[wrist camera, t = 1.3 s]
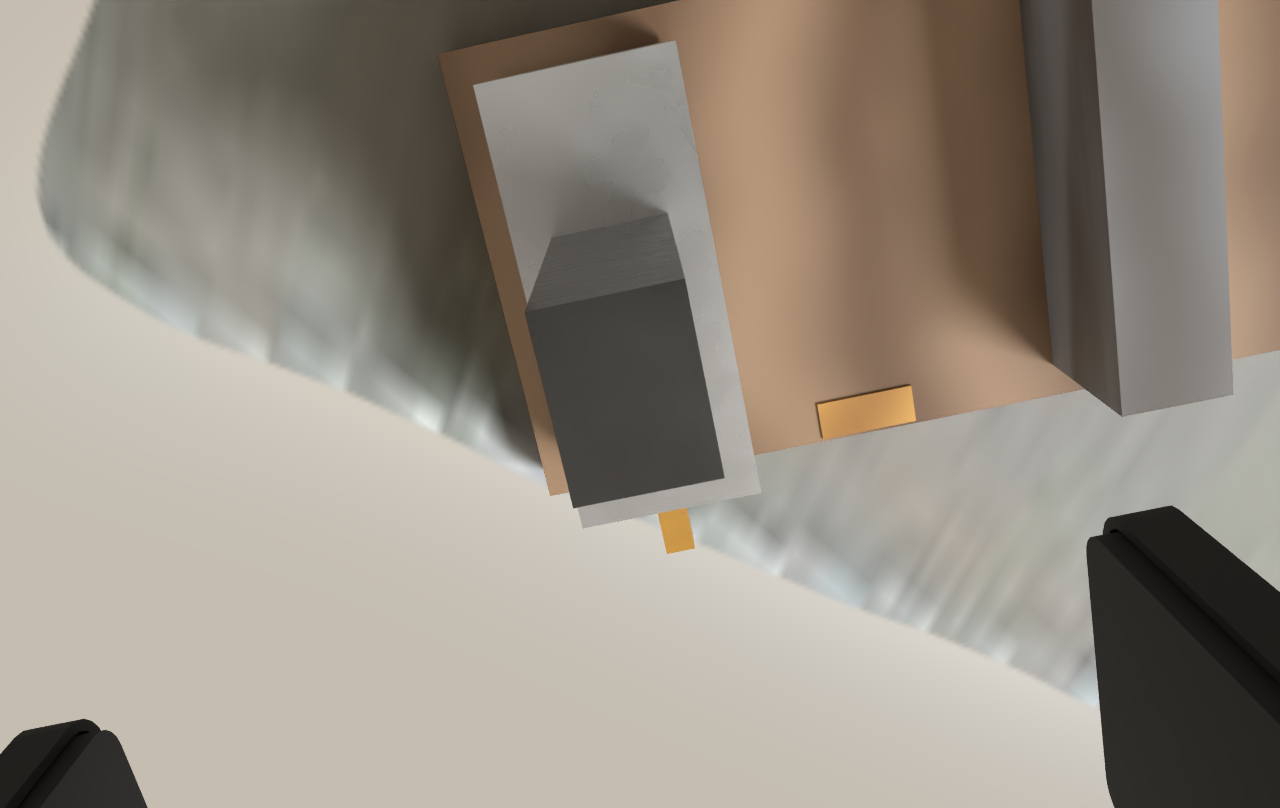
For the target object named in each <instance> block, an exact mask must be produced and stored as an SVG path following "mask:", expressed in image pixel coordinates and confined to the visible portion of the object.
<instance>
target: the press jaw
mask: <svg viewBox="0 0 1280 808" xmlns="http://www.w3.org/2000/svg"><path fill="white" fill-rule="evenodd" d="M473 87H474V91H475V95H476V99H477V103H478V107H479V111H480V115H481V120H482V124H483V128H484V132H485V136H486V140H487V144H488V148H489V152H490V156H491V160H492V164H493V168H494V172H495V176H496V180H497V184H498V188H499V192H500V196H501V200H502V204H503V208H504V212H505V216H506V220H507V224H508V228H509V232H510V236H511V241H512V245H513V249H514V253H515V257H516V261H517V265H518V269H519V273H520V277H521V281H522V285H523V289H524V293H525V297H526V301H527V306H526V309H525V312H524V313H525V317H526V321H527V325H528V329H529V333H530V337H531V341H532V345H533V349H534V353H535V357H536V361H537V365H538V369H539V373H540V377H541V381H542V385H543V389H544V393H545V397H546V401H547V405H548V409H549V413H550V417H551V421H552V425H553V429H554V433H555V437H556V441H557V445H558V449H559V453H560V457H561V461H562V465H563V469H564V473H565V477H566V481H567V485H568V489H569V493H570V497H571V501H572V505H573V508H578V511H579V515H580V519H581V523H582V527H583V528H587V527H592V526H596V525H602V524H607V523H612V522H617V521H622V520H627V519H632V518H637V517H642V516H647V515H653V514H658V516H659V520H660V525H661V529H662V533H663V538H664V542H665V547H666V551H667V554H668V553H674V552H679V551H683V550H689V549H694V548H695V545H694V539H693V533H692V528H691V524H690V519H689V514H688V510H687V508H688V507H693V506H698V505H703V504H708V503H713V502H718V501H723V500H728V499H733V498H738V497H743V496H748V495H753V494H758V493H761V489H760V484H759V479H758V473H757V468H756V463H755V457H754V452H753V447H752V442H751V436H750V431H749V426H748V420H747V415H746V410H745V405H744V399H743V394H742V389H741V383H740V378H739V373H738V367H737V362H736V357H735V352H734V346H733V341H732V336H731V330H730V325H729V320H728V315H727V309H726V304H725V299H724V293H723V288H722V283H721V277H720V272H719V267H718V262H717V256H716V251H715V246H714V240H713V235H712V230H711V225H710V219H709V214H708V209H707V203H706V198H705V193H704V188H703V182H702V177H701V172H700V166H699V161H698V156H697V150H696V145H695V140H694V135H693V129H692V124H691V119H690V113H689V108H688V103H687V98H686V92H685V87H684V82H683V76H682V71H681V66H680V60H679V55H678V50H677V45H676V40H675V41H665V42H660V43H656V44H651V45H647V46H642V47H637V48H633V49H628V50H624V51H619V52H615V53H610V54H606V55H601V56H597V57H592V58H588V59H583V60H579V61H574V62H569V63H565V64H560V65H556V66H551V67H547V68H542V69H538V70H533V71H529V72H524V73H520V74H515V75H511V76H506V77H501V78H497V79H493V80H490V81H486V82H482V83H479V84H475V85H473Z"/></svg>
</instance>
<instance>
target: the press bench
mask: <svg viewBox="0 0 1280 808" xmlns="http://www.w3.org/2000/svg"><path fill="white" fill-rule="evenodd" d="M675 40H676V45H677V50H678V55H679V60H680V66H681V71H682V76H683V82H684V87H685V92H686V98H687V103H688V108H689V113H690V119H691V124H692V129H693V135H694V140H695V145H696V150H697V156H698V161H699V166H700V172H701V177H702V182H703V188H704V193H705V198H706V203H707V209H708V214H709V219H710V225H711V230H712V235H713V240H714V246H715V251H716V256H717V262H718V267H719V272H720V277H721V283H722V288H723V293H724V299H725V304H726V309H727V315H728V320H729V325H730V330H731V336H732V341H733V346H734V352H735V357H736V362H737V367H738V373H739V378H740V383H741V389H742V394H743V399H744V405H745V410H746V415H747V420H748V426H749V431H750V436H751V442H752V447H753V452H754V455H757V454H762V453H767V452H772V451H777V450H782V449H787V448H792V447H797V446H802V445H807V444H812V443H817V442H822V441H827V440H832V439H837V438H842V437H847V436H852V435H857V434H862V433H867V432H872V431H877V430H882V429H887V428H892V427H897V426H902V425H907V424H912V423H917V422H922V421H927V420H932V419H937V418H942V417H947V416H952V415H957V414H962V413H967V412H972V411H977V410H982V409H987V408H992V407H997V406H1002V405H1007V404H1012V403H1017V402H1022V401H1027V400H1032V399H1037V398H1042V397H1047V396H1052V395H1057V394H1062V393H1067V392H1072V391H1077V390H1082V389H1086V390H1087V391H1089V392H1090V393H1091V394H1093V395H1094V396H1095V397H1097V398H1098V399H1099V400H1101V401H1102V402H1103V403H1105V404H1106V405H1107V406H1109V407H1110V408H1111V409H1113V410H1114V411H1115V412H1117V413H1118V414H1119V415H1121V416H1122V417H1123V416H1128V415H1133V414H1138V413H1143V412H1148V411H1153V410H1158V409H1163V408H1169V407H1174V406H1179V405H1184V404H1189V403H1194V402H1199V401H1204V400H1209V399H1214V398H1219V397H1224V396H1229V395H1233V373H1232V359H1237V358H1241V357H1246V356H1251V355H1256V354H1261V353H1266V352H1271V351H1276V350H1280V0H678V1H673V2H669V3H664V4H660V5H655V6H651V7H646V8H642V9H637V10H633V11H628V12H624V13H619V14H615V15H610V16H606V17H601V18H597V19H592V20H588V21H583V22H579V23H574V24H570V25H565V26H561V27H556V28H552V29H547V30H543V31H538V32H534V33H529V34H525V35H520V36H516V37H511V38H507V39H502V40H498V41H493V42H489V43H484V44H480V45H475V46H471V47H466V48H462V49H457V50H453V51H448V52H444V53H439V54H437V55H438V59H439V63H440V66H441V70H442V74H443V78H444V82H445V86H446V90H447V94H448V98H449V102H450V106H451V109H452V113H453V117H454V121H455V125H456V129H457V133H458V137H459V141H460V145H461V149H462V153H463V156H464V160H465V164H466V168H467V172H468V176H469V180H470V184H471V188H472V192H473V196H474V199H475V203H476V207H477V211H478V215H479V219H480V223H481V227H482V231H483V235H484V239H485V242H486V246H487V250H488V254H489V258H490V262H491V266H492V270H493V274H494V278H495V282H496V286H497V289H498V293H499V297H500V301H501V305H502V309H503V313H504V317H505V321H506V325H507V329H508V332H509V336H510V340H511V344H512V348H513V352H514V356H515V360H516V364H517V368H518V372H519V375H520V379H521V383H522V387H523V391H524V395H525V399H526V403H527V407H528V411H529V415H530V419H531V422H532V426H533V430H534V434H535V438H536V442H537V446H538V450H539V454H540V458H541V462H542V465H543V469H544V473H545V477H546V481H547V485H548V489H549V493H550V496H552V495H557V494H562V493H567V492H569V489H568V485H567V481H566V477H565V473H564V469H563V465H562V461H561V457H560V453H559V449H558V445H557V441H556V437H555V433H554V429H553V425H552V421H551V417H550V413H549V409H548V405H547V401H546V397H545V393H544V389H543V385H542V381H541V377H540V373H539V369H538V365H537V361H536V357H535V353H534V349H533V345H532V341H531V337H530V333H529V329H528V325H527V321H526V317H525V313H524V312H525V309H526V306H527V301H526V297H525V293H524V289H523V285H522V281H521V277H520V273H519V269H518V265H517V261H516V257H515V253H514V249H513V245H512V241H511V236H510V232H509V228H508V224H507V220H506V216H505V212H504V208H503V204H502V200H501V196H500V192H499V188H498V184H497V180H496V176H495V172H494V168H493V164H492V160H491V156H490V152H489V148H488V144H487V140H486V136H485V132H484V128H483V124H482V120H481V115H480V111H479V107H478V103H477V99H476V95H475V91H474V87H473V85H475V84H479V83H482V82H486V81H490V80H493V79H497V78H501V77H506V76H511V75H515V74H520V73H524V72H529V71H533V70H538V69H542V68H547V67H551V66H556V65H560V64H565V63H569V62H574V61H579V60H583V59H588V58H592V57H597V56H601V55H606V54H610V53H615V52H619V51H624V50H628V49H633V48H637V47H642V46H647V45H651V44H656V43H660V42H665V41H675Z"/></svg>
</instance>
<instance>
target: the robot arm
mask: <svg viewBox="0 0 1280 808" xmlns="http://www.w3.org/2000/svg"><path fill="white" fill-rule="evenodd" d="M1086 548H1087V566H1088V577H1089V588H1090V600H1091V611H1092V622H1093V634H1094V645H1095V656H1096V668H1097V679H1098V690H1099V702H1100V713H1101V724H1102V736H1103V746H1104V757H1105V770H1106V779H1107V785H1108V789H1109V793H1110V796H1111V799H1112V802H1113V805H1114V807H1115V808H1280V592H1279V591H1278V590H1277V589H1275V588H1274V587H1273V586H1272V585H1270V584H1269V583H1268V582H1267V581H1266V580H1264V579H1263V578H1262V577H1261V576H1259V575H1258V574H1257V573H1256V572H1255V571H1253V570H1252V569H1251V568H1250V567H1248V566H1247V565H1246V564H1245V563H1244V562H1242V561H1241V560H1240V559H1239V558H1237V557H1236V556H1235V555H1234V554H1233V553H1231V552H1230V551H1229V550H1228V549H1226V548H1225V547H1224V546H1223V545H1222V544H1220V543H1219V542H1218V541H1217V540H1215V539H1214V538H1213V537H1212V536H1211V535H1209V534H1208V533H1207V532H1206V531H1204V530H1203V529H1202V528H1201V527H1200V526H1198V525H1197V524H1196V523H1195V522H1193V521H1192V520H1191V519H1190V518H1189V517H1187V516H1186V515H1185V514H1184V513H1183V512H1181V511H1180V510H1179V509H1177V508H1175V507H1173V506H1166V507H1161V508H1156V509H1151V510H1146V511H1140V512H1135V513H1130V514H1125V515H1120V516H1115V517H1110V518H1108V519H1107V520H1106V522H1105V524H1104V529H1103V535H1100V536H1094V537H1090V538H1089V540H1088V542H1087V547H1086ZM0 808H147V805H146V803H145V800H144V798H143V796H142V793H141V791H140V789H139V786H138V784H137V781H136V779H135V777H134V774H133V772H132V770H131V767H130V765H129V762H128V760H127V758H126V756H125V753H124V751H123V748H122V746H121V744H120V742H119V740H118V738H117V737H116V736H115V735H114V734H113V733H112V732H110V731H107V730H103V731H101V730H100V728H99V727H98V726H97V725H96V724H95V723H93V722H92V721H90V720H86V719H81V720H76V721H71V722H66V723H60V724H55V725H50V726H45V727H40V728H35V729H30V730H26V731H23V732H21V733H20V734H19V735H18V736H16V737H15V738H14V739H13V740H12V741H11V743H10V744H9V745H8V746H7V747H6V748H5V750H4V751H3V752H2V753H1V754H0Z"/></svg>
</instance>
